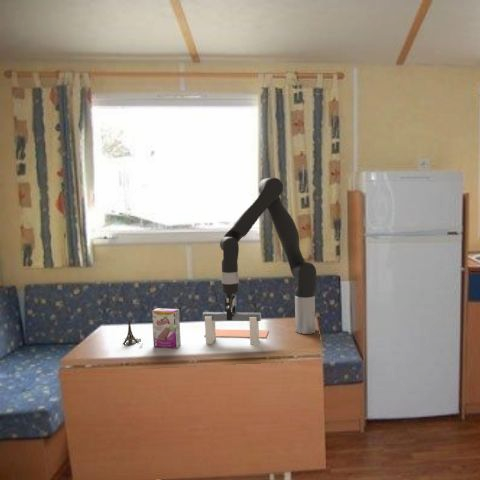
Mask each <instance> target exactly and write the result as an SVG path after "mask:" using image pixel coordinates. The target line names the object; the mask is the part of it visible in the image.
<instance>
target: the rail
mask: <svg viewBox="0 0 480 480" xmlns="http://www.w3.org/2000/svg"><path fill="white" fill-rule="evenodd" d="M205 316H212V321H215V322H218V321H221V322H222V321H223V322H224V321H225V322H227V321H228V322H229V320H227V312H225V311H222V312H221V311H203V312H202V321H205ZM249 317H257V321H258V322H261V321H262V312H240V311H239V312H238V311H236V312H232V320H231V321H232V322H250V321H249ZM231 321H230V322H231Z"/></svg>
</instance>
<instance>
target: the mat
mask: <svg viewBox="0 0 480 480" xmlns="http://www.w3.org/2000/svg"><path fill="white" fill-rule="evenodd" d="M215 331H216V338H238V339H239V338H243V339H245V338H246V339H248V338H249V339H250V329H225V328H224V329H220V328H219V329H217V328H215ZM268 334H269V329H259V339H267V337H268ZM203 336H204V338H206V334H205V335H203Z"/></svg>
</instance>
